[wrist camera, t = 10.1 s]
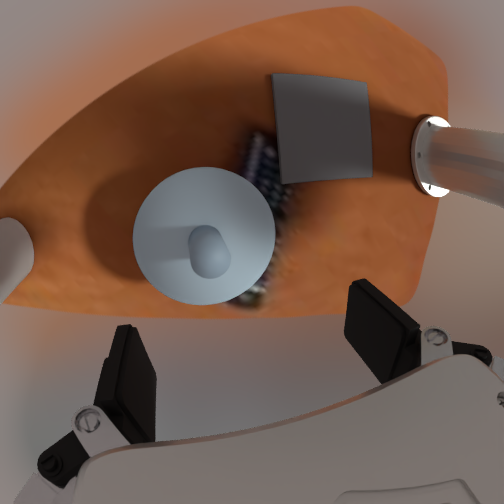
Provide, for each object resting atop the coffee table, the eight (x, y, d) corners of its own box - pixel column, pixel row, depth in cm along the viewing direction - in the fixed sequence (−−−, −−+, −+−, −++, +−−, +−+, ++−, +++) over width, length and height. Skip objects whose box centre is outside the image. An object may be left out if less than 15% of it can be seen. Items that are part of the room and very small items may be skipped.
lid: (266, 159, 22) (289, 161, 17) (274, 285, 26) (294, 313, 22) (122, 180, 19) (106, 189, 15) (152, 309, 24) (149, 342, 19)
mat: (363, 83, 26) (366, 82, 25) (369, 176, 30) (372, 177, 30) (270, 74, 23) (272, 73, 23) (280, 183, 28) (282, 184, 28)
